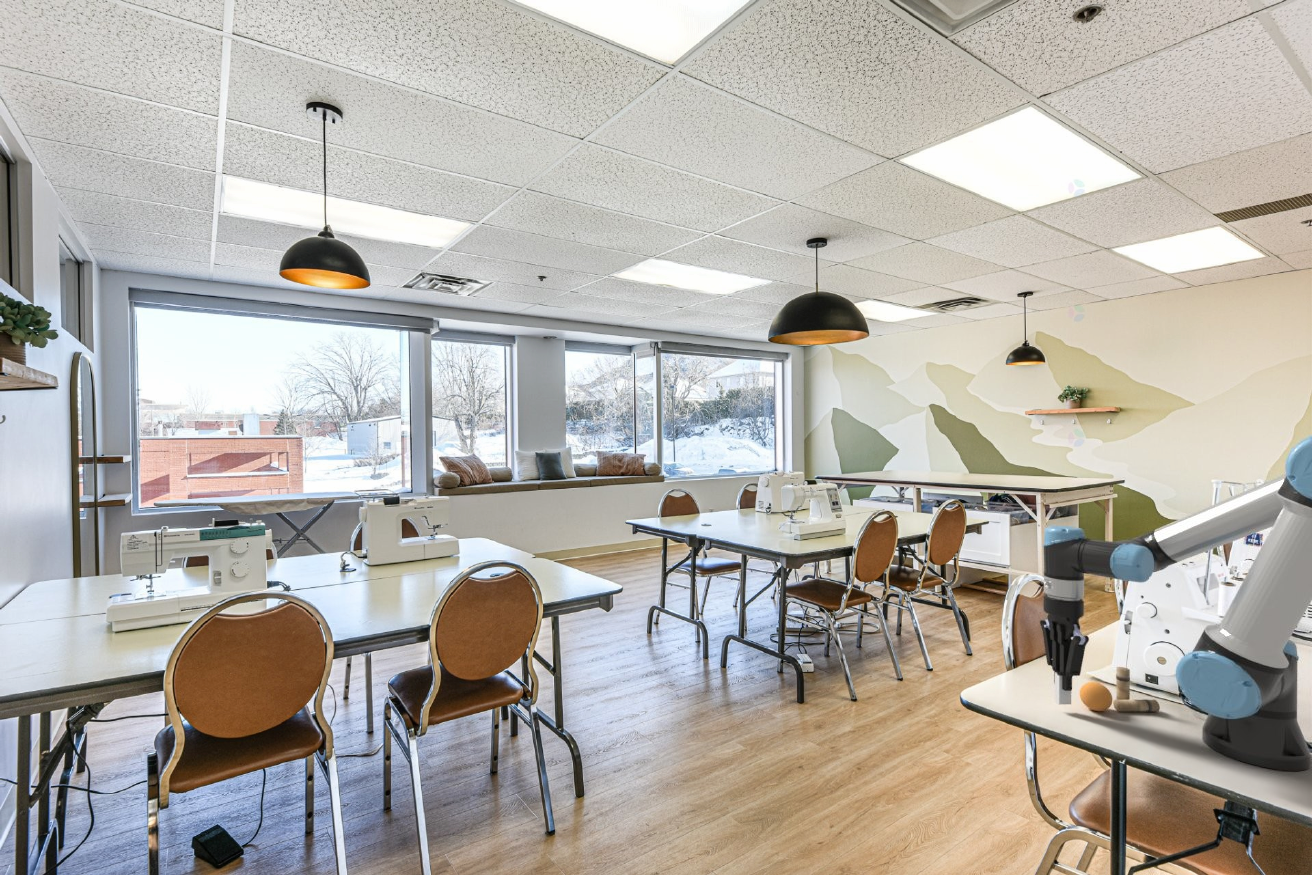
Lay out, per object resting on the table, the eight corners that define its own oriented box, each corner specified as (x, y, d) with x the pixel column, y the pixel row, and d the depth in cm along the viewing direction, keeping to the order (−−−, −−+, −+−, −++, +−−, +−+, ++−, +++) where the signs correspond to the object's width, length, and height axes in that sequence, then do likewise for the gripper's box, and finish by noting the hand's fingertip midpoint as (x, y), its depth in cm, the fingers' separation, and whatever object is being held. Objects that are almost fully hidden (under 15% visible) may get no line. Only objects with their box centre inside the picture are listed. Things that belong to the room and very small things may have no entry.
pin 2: (1117, 713, 139) (1156, 713, 139) (1123, 707, 137) (1161, 707, 137) (1111, 703, 141) (1149, 703, 141) (1116, 697, 139) (1154, 697, 139)
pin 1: (1130, 706, 141) (1130, 668, 141) (1129, 709, 139) (1129, 671, 140) (1116, 703, 143) (1116, 665, 143) (1115, 706, 141) (1115, 668, 141)
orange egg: (1077, 680, 139) (1077, 708, 139) (1110, 687, 135) (1110, 716, 135) (1081, 677, 144) (1081, 704, 143) (1114, 683, 140) (1114, 711, 139)
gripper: (1028, 589, 145) (1028, 691, 145) (1066, 604, 132) (1066, 715, 132) (1060, 589, 145) (1060, 691, 145) (1101, 604, 132) (1101, 715, 132)
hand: (1062, 702), depth 138 cm, fingers closed
